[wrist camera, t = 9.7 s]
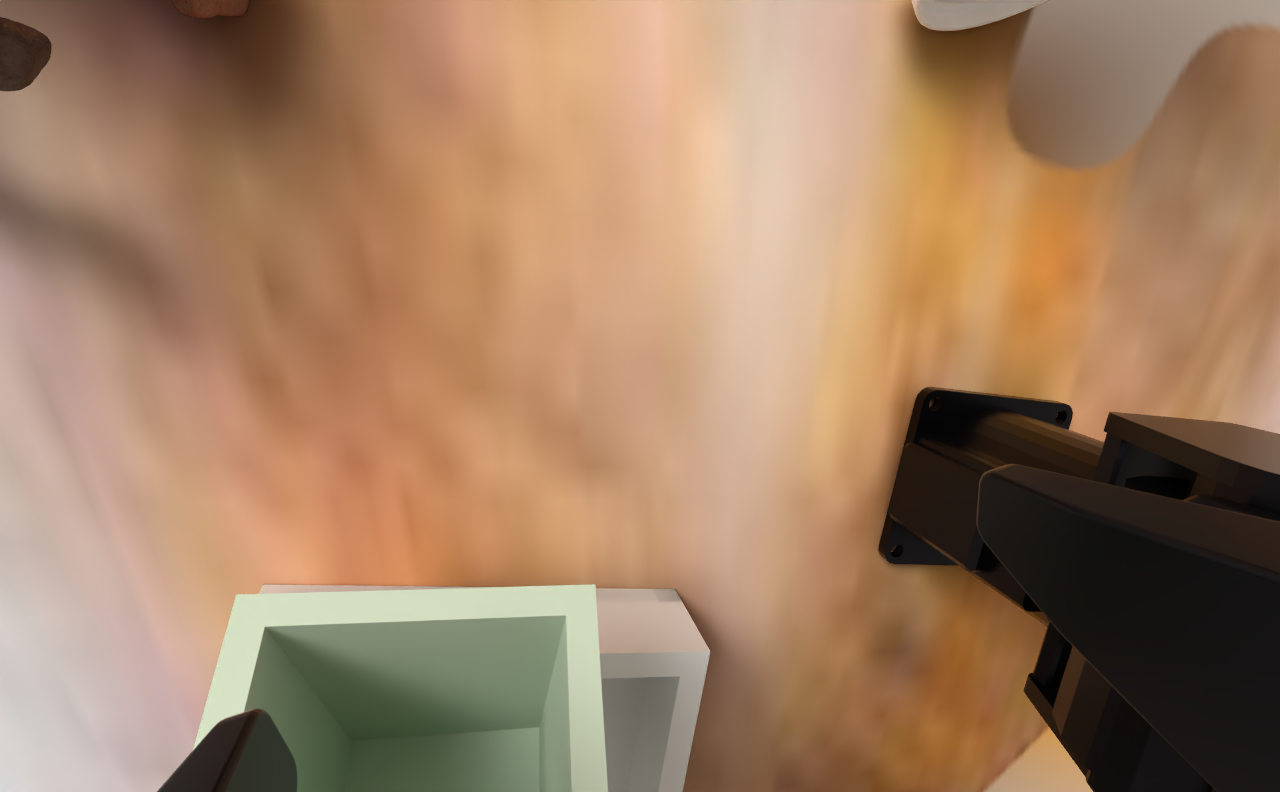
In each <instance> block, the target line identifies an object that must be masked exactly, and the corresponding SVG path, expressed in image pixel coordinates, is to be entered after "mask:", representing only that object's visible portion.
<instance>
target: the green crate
mask: <svg viewBox="0 0 1280 792" xmlns="http://www.w3.org/2000/svg"><path fill="white" fill-rule="evenodd" d="M257 708H258V709H264V710H265V711H266V712H268V714H269V715H270V716H271V718H272V720H273V721H274V723H275V725H276V727H277V728H278V730H279V732H280V734H281V735H282V737H283V739H284V741H285V742H286V744H287V746H288V748H289V749H290V751H291V753H292V755H293V757H294V760H295V763H296V768H297V792H608V783H607V767H606V750H605V734H604V718H603V701H602V685H601V668H600V652H599V636H598V619H597V603H596V587H595V584H593V585H558V586H523V587H487V588H452V589H417V590H382V591H346V592H311V593H276V594H241V595H236V598H235V602H234V605H233V609H232V613H231V616H230V620H229V623H228V627H227V631H226V634H225V638H224V641H223V645H222V648H221V652H220V656H219V659H218V663H217V666H216V670H215V674H214V677H213V681H212V684H211V688H210V692H209V695H208V699H207V702H206V706H205V709H204V713H203V717H202V720H201V724H200V727H199V731H198V735H197V738H196V742H195V745H194V749H195V748H196V746H197V745H198V744H199V743H200V742H201V741H202V740H203V738H204V737H205V736H206V735H207V734H208V733H209V732H210V730H211V729H212V728H213V727H214V726H215V725H216V724H217V723H218V722H220V721H221V720H223V719H225V718H228V717H231V716H234V715H237V714H240V713H243V712H246V711H249V710H252V709H257ZM194 749H193V750H194Z"/></svg>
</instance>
